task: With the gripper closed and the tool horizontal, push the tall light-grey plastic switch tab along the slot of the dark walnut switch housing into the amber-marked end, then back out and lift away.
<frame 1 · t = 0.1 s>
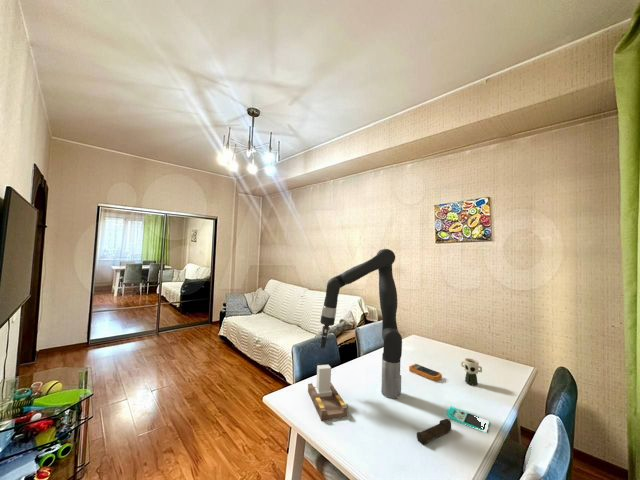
hand: (323, 345, 140), 22 cm above the table, tool pointing down, fingers open, 8 cm apart
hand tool: (434, 436, 105), on the table
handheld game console: (467, 421, 116), on the table
switch tab: (323, 380, 130), point 9 cm above the table, slide at 0.0 cm
switch housing: (326, 403, 124), on the table
multimeter: (425, 375, 159), on the table
character mug: (471, 383, 150), on the table
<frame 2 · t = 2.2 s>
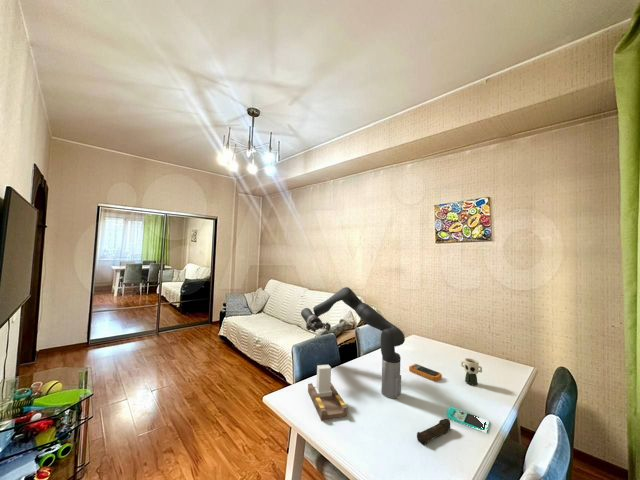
hand: (321, 329, 148), 28 cm above the table, tool horizontal, fingers open, 7 cm apart
nothing on the table moved.
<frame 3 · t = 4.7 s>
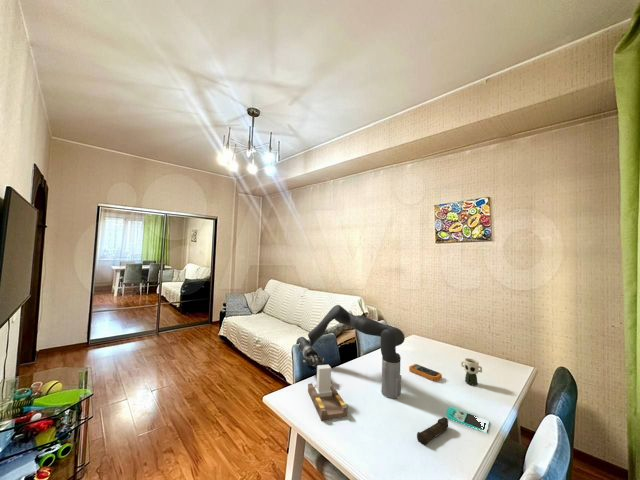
hand: (317, 366, 140), 11 cm above the table, tool horizontal, fingers closed
nothing on the table moved.
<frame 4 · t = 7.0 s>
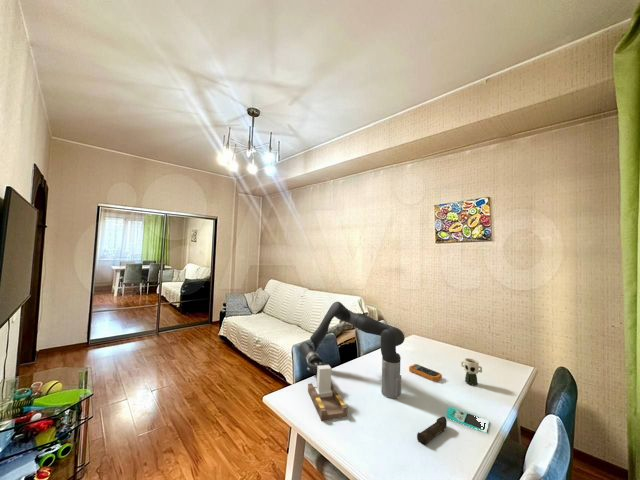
hand: (323, 374, 131), 10 cm above the table, tool horizontal, fingers closed
switch tab: (323, 380, 129), point 9 cm above the table, slide at 0.4 cm, touching gripper
everything else where it was.
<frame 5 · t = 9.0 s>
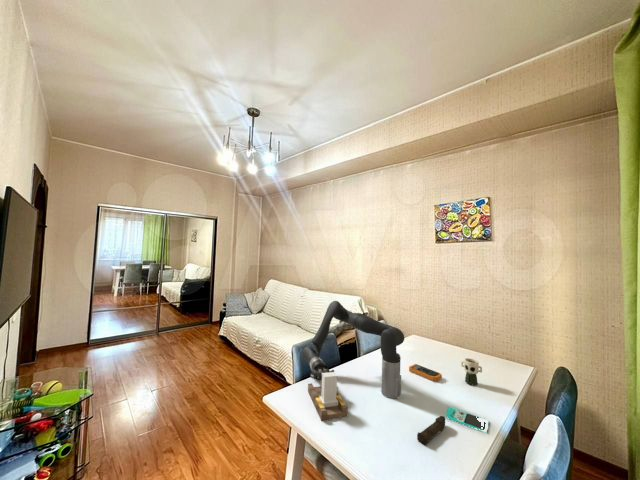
hand: (328, 382, 124), 10 cm above the table, tool horizontal, fingers closed
switch tab: (329, 388, 122), point 9 cm above the table, slide at 8.5 cm, touching gripper
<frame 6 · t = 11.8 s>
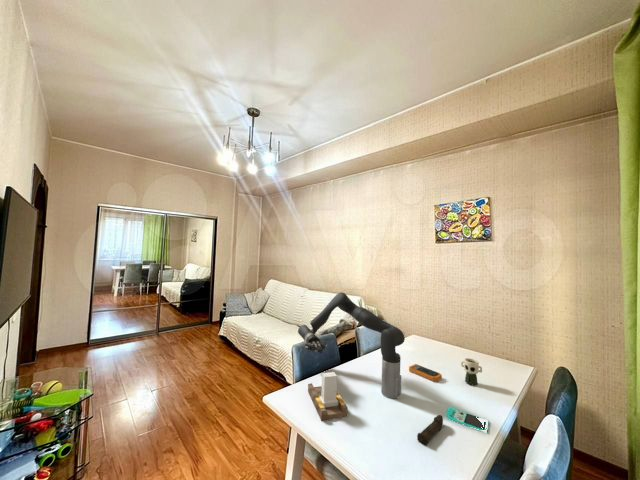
hand: (320, 351, 137), 20 cm above the table, tool horizontal, fingers closed
switch tab: (329, 388, 121), point 9 cm above the table, slide at 8.5 cm
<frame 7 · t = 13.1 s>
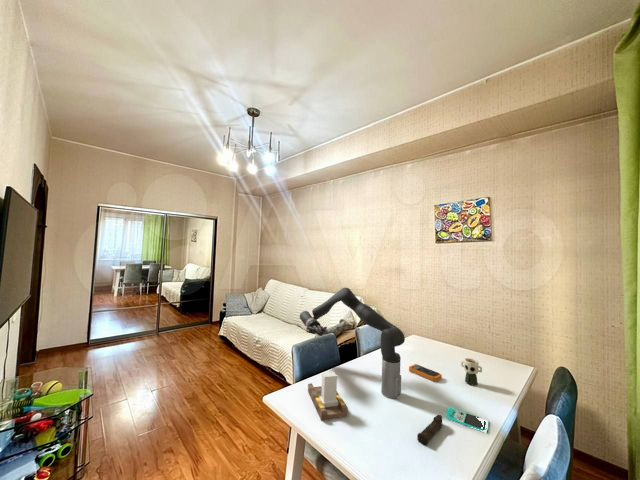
hand: (321, 334, 144), 27 cm above the table, tool horizontal, fingers closed
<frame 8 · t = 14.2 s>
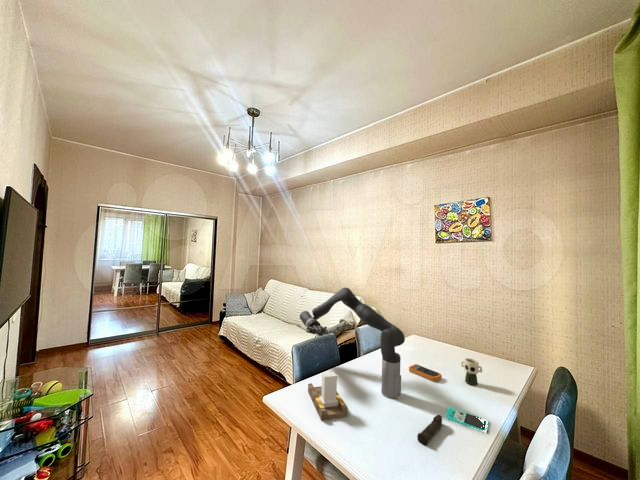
hand: (321, 334, 144), 27 cm above the table, tool horizontal, fingers closed
at the end: switch tab slide at 8.5 cm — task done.
